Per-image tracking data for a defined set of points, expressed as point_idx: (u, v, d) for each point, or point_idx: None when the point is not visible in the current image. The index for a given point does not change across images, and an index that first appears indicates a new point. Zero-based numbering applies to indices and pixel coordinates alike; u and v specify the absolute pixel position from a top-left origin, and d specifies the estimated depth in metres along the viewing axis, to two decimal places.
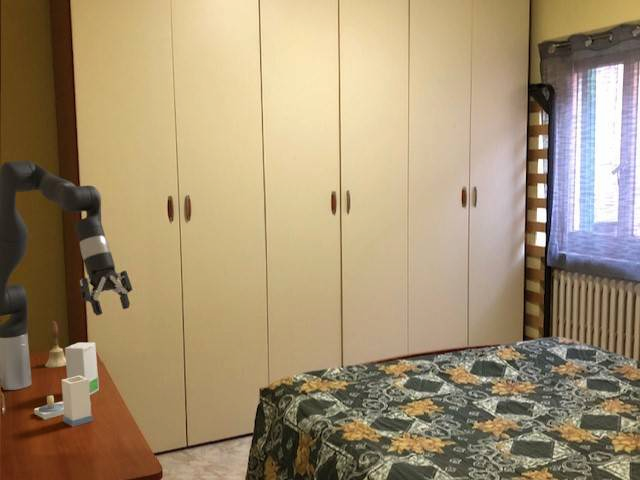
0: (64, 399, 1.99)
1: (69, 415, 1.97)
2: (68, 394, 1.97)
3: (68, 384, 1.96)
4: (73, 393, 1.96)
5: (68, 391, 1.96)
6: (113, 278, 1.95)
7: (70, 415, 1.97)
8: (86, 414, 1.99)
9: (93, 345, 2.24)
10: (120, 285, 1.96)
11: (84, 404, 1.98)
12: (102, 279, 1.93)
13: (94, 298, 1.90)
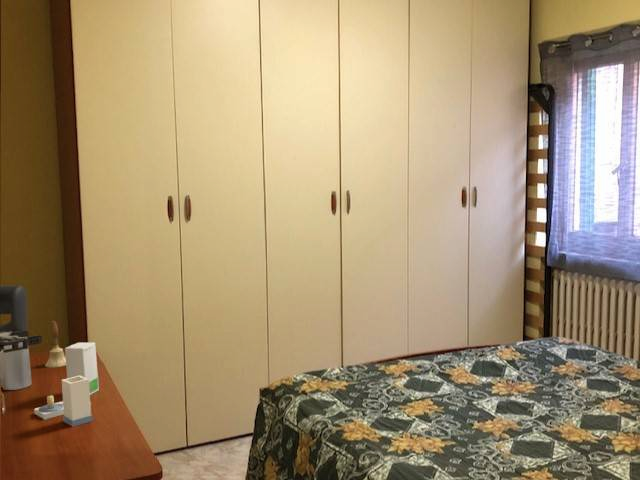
0: (64, 399, 1.99)
1: (69, 415, 1.97)
2: (68, 394, 1.97)
3: (68, 384, 1.96)
4: (73, 393, 1.96)
5: (68, 391, 1.96)
6: (4, 350, 1.83)
7: (70, 415, 1.97)
8: (86, 414, 1.99)
9: (93, 345, 2.24)
10: None
11: (84, 404, 1.98)
12: None
13: None
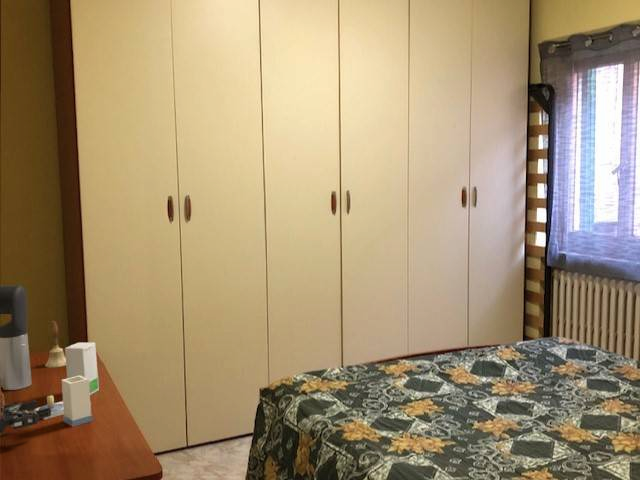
0: (64, 399, 1.99)
1: (69, 415, 1.97)
2: (68, 394, 1.97)
3: (68, 384, 1.96)
4: (73, 393, 1.96)
5: (68, 391, 1.96)
6: None
7: (70, 415, 1.97)
8: (86, 414, 1.99)
9: (93, 345, 2.24)
10: None
11: (84, 404, 1.98)
12: None
13: None
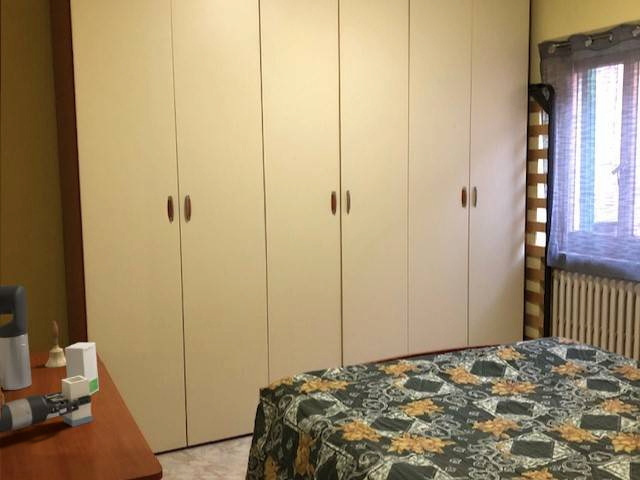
0: None
1: (69, 415, 1.97)
2: (68, 394, 1.97)
3: (68, 384, 1.96)
4: (73, 393, 1.96)
5: (68, 391, 1.96)
6: None
7: (70, 415, 1.97)
8: (86, 414, 1.99)
9: (93, 345, 2.24)
10: None
11: None
12: None
13: None
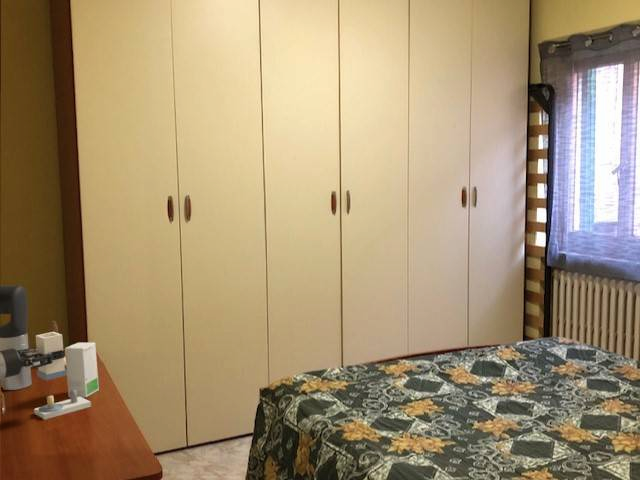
0: None
1: (43, 369, 2.03)
2: (41, 349, 2.02)
3: (42, 339, 2.01)
4: (46, 348, 2.01)
5: (42, 346, 2.02)
6: None
7: (44, 370, 2.02)
8: (60, 369, 2.04)
9: (93, 345, 2.24)
10: None
11: (58, 359, 2.04)
12: None
13: None
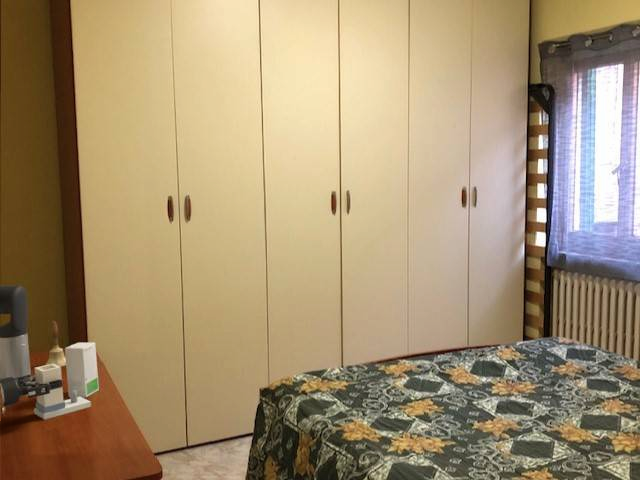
0: None
1: (42, 402, 2.04)
2: (40, 381, 2.03)
3: (40, 372, 2.02)
4: (45, 381, 2.03)
5: (41, 378, 2.03)
6: None
7: (43, 402, 2.03)
8: (58, 401, 2.06)
9: (93, 345, 2.24)
10: None
11: (56, 391, 2.05)
12: None
13: None
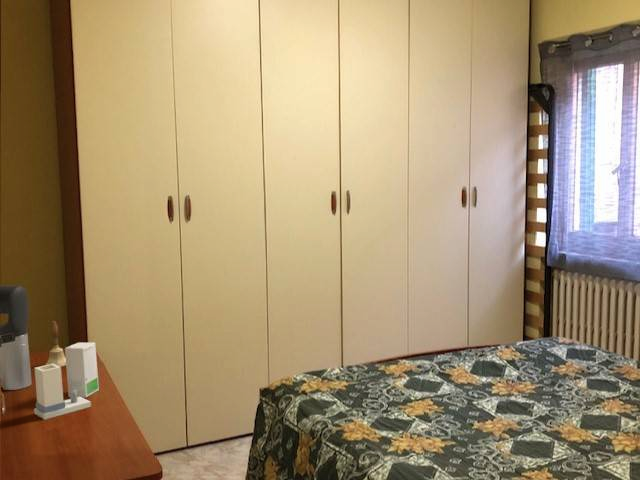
0: (37, 386, 2.05)
1: (42, 402, 2.04)
2: (40, 381, 2.03)
3: (40, 372, 2.02)
4: (45, 381, 2.03)
5: (41, 378, 2.03)
6: None
7: (43, 402, 2.03)
8: (58, 401, 2.06)
9: (93, 345, 2.24)
10: None
11: (56, 391, 2.05)
12: None
13: None
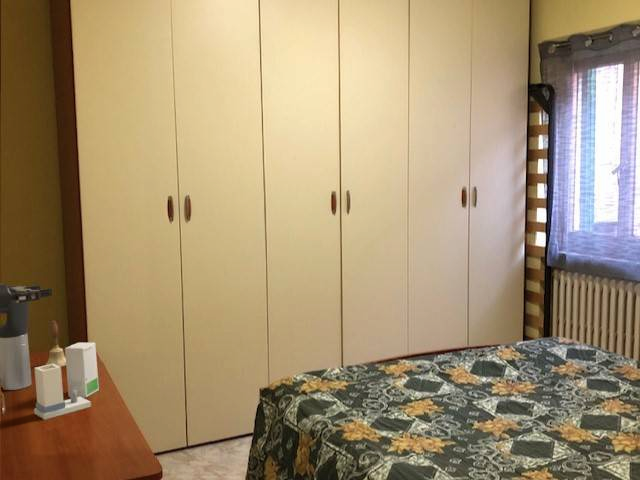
0: (37, 386, 2.05)
1: (42, 402, 2.04)
2: (40, 381, 2.03)
3: (40, 372, 2.02)
4: (45, 381, 2.03)
5: (41, 378, 2.03)
6: (19, 302, 2.08)
7: (43, 402, 2.03)
8: (58, 401, 2.06)
9: (93, 345, 2.24)
10: None
11: (56, 391, 2.05)
12: None
13: None
